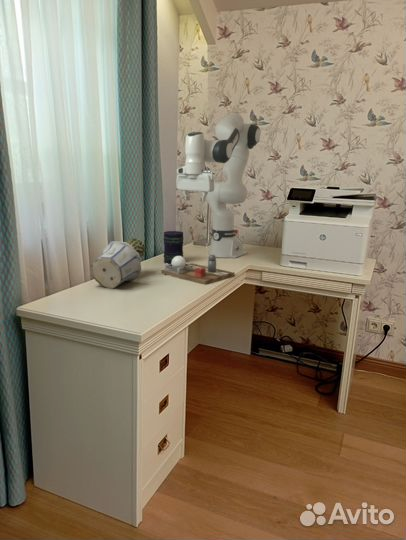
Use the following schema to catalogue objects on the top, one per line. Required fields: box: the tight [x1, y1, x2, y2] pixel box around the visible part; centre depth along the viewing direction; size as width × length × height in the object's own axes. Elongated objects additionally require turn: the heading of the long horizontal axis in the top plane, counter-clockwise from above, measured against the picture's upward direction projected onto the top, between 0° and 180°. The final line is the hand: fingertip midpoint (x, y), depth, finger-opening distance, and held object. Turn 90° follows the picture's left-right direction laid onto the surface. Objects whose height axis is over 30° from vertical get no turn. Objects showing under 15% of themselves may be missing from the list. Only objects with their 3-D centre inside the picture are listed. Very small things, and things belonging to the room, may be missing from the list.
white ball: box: [171, 256, 187, 268], centre depth 190 cm, size 6×6×6 cm
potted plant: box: [90, 237, 146, 289], centre depth 177 cm, size 18×18×30 cm
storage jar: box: [163, 230, 184, 265], centre depth 213 cm, size 10×10×15 cm
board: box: [160, 263, 235, 285], centre depth 190 cm, size 20×26×5 cm
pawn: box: [207, 255, 217, 272], centre depth 189 cm, size 4×4×8 cm
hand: (195, 201), depth 195 cm, fingers open, 8 cm apart
